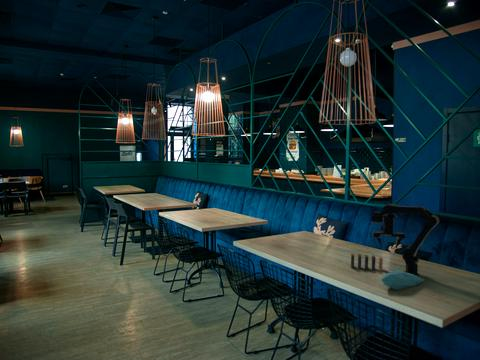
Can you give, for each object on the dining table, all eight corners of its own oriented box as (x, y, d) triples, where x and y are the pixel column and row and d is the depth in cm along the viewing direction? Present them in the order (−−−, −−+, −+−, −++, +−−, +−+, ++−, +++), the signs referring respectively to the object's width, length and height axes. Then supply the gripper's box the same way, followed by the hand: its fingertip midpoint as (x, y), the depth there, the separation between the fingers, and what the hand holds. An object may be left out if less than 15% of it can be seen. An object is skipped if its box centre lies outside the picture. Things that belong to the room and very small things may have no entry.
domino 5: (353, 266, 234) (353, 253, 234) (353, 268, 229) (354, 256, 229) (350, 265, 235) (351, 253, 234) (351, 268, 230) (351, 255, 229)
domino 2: (374, 267, 231) (374, 255, 230) (374, 270, 226) (375, 257, 226) (371, 267, 231) (371, 255, 231) (372, 270, 227) (372, 257, 226)
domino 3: (367, 267, 232) (367, 255, 232) (367, 269, 227) (368, 257, 227) (364, 267, 232) (365, 254, 232) (365, 269, 228) (365, 256, 227)
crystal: (427, 292, 204) (435, 278, 200) (382, 293, 189) (391, 277, 186) (414, 280, 212) (422, 267, 209) (370, 280, 198) (378, 265, 194)
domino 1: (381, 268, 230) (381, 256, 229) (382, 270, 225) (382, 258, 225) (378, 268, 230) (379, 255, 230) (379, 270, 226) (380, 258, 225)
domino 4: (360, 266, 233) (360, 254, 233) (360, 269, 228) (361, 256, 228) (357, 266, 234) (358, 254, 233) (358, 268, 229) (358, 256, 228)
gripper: (402, 222, 234) (401, 246, 235) (371, 221, 238) (371, 244, 239) (405, 225, 223) (405, 250, 224) (373, 224, 227) (373, 248, 228)
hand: (388, 248), depth 229 cm, fingers open, 9 cm apart
